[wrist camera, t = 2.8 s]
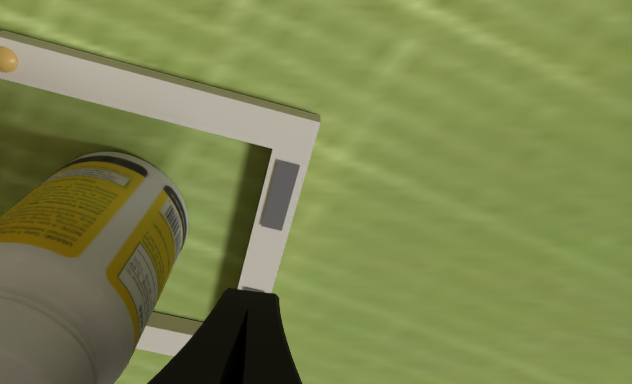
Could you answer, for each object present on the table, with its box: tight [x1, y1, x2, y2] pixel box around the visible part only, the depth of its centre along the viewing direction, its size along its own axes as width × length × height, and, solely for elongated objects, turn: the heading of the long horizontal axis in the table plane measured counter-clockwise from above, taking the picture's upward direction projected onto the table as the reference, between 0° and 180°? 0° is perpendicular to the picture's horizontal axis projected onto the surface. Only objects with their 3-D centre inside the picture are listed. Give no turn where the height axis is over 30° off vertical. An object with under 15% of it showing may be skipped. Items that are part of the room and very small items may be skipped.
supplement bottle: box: [0, 152, 188, 384], centre depth 13 cm, size 5×5×8 cm
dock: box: [0, 30, 320, 356], centre depth 16 cm, size 10×10×1 cm
